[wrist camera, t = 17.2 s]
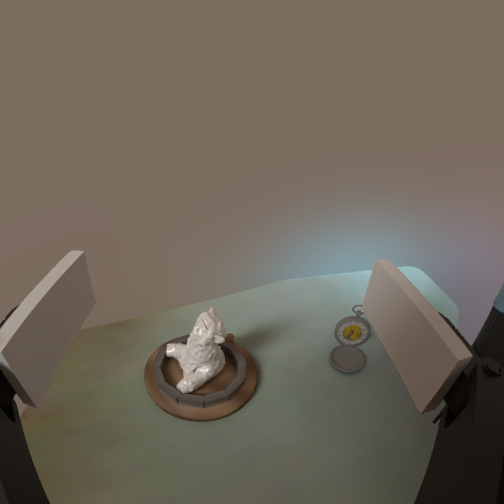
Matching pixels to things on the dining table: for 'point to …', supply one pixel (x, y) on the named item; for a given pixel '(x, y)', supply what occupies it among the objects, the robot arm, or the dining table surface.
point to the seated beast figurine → (200, 352)
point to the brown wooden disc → (208, 395)
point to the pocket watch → (350, 343)
